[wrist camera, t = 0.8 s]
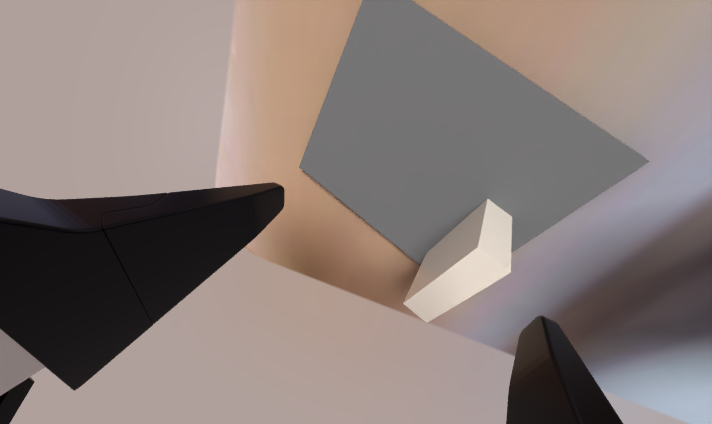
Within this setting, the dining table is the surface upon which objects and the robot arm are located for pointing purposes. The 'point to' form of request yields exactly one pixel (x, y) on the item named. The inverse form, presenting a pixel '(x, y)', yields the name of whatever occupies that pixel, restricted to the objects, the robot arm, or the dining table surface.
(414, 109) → the mat
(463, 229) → the block
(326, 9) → the dining table surface
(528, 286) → the dining table surface
